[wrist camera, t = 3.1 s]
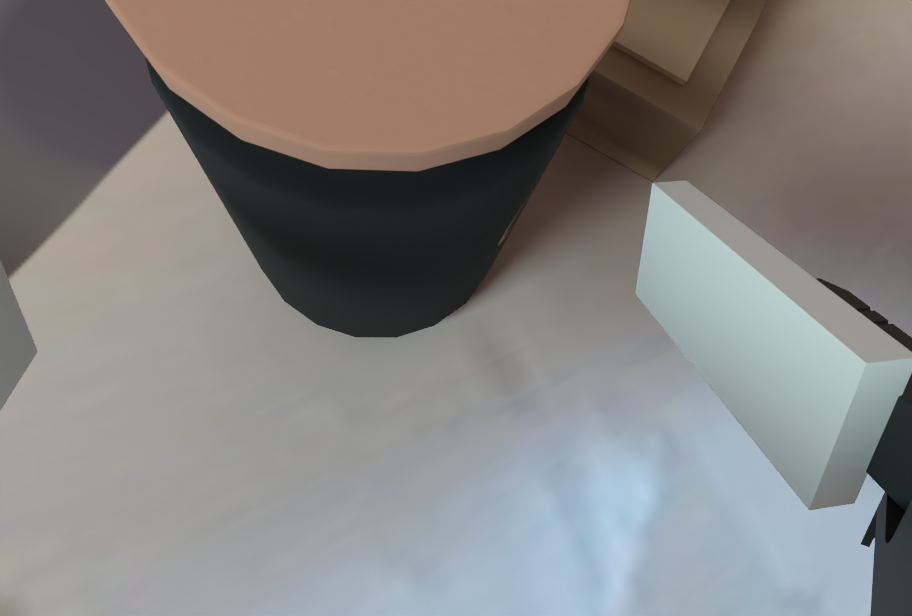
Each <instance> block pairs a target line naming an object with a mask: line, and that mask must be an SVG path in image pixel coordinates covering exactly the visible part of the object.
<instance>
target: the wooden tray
mask: <svg viewBox="0 0 912 616" xmlns="http://www.w3.org/2000/svg"><path fill="white" fill-rule="evenodd" d="M767 1H768V0H631V2H630V5H629V9H628V13H627V16H626V20H625V23H624V27H623V30H622V31H621V33H620V34H619V35H618V37H617V38H616V39H615V41H614V42H613V44H612V45H611V46H610V48H609V49H608V50H607V52H606V53H605V54H604V56H603V57H602V59H601V60H600V61H599V63H598V64H597V65H596V67H595V68H594V69H593V71H592V72H591V76H590V79H589V83H588V86H587V90H586V93H585V97H584V100H583V103H582V105H581V107H580V108H579V110H578V112H577V114H576V116H575V117H574V119H573V121H572V123H571V124H570V126H569V128H568V130H567V132H566V133H568V134H570V135H571V136H573V137H575V138H577V139H578V140H580V141H582V142H584V143H585V144H587V145H589V146H591V147H592V148H594V149H596V150H598V151H599V152H601V153H603V154H605V155H606V156H608V157H610V158H612V159H613V160H615V161H617V162H619V163H620V164H622V165H624V166H626V167H627V168H629V169H631V170H633V171H634V172H636V173H638V174H640V175H641V176H643V177H645V178H647V179H648V180H650V181H653V180H654V179H655V178H656V177H657V176H658V175H659V174H660V173H661V172H662V171H663V170H664V169H665V168H666V167H667V166H668V165H669V164H670V163H671V162H672V160H673V159H674V158H675V157H676V156H677V155H678V154H679V153H680V152H681V151H682V150H683V149H684V148H685V147H686V146H687V145H688V144H689V143H690V142H691V141H692V140H693V139H694V138H695V136H696V135H697V134H698V133H699V132H700V131H701V129H702V128H703V126H704V124H705V122H706V120H707V118H708V116H709V114H710V112H711V110H712V108H713V106H714V104H715V102H716V100H717V98H718V96H719V94H720V93H721V91H722V89H723V87H724V85H725V83H726V81H727V79H728V77H729V75H730V73H731V71H732V69H733V67H734V65H735V63H736V61H737V60H738V58H739V56H740V54H741V52H742V50H743V48H744V46H745V44H746V42H747V40H748V38H749V36H750V34H751V32H752V30H753V28H754V26H755V25H756V23H757V21H758V19H759V17H760V15H761V13H762V11H763V9H764V7H765V5H766V3H767Z"/></svg>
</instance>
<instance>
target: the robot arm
mask: <svg viewBox="0 0 912 616" xmlns="http://www.w3.org/2000/svg"><path fill="white" fill-rule="evenodd" d="M635 294H636V295H637V297H638V298H639V299H640V300H641V302H642V303H643V304H644V305H645V307H646V308H647V309H648V310H649V312H650V313H651V314H652V315H653V317H654V318H655V319H656V320H657V322H658V323H659V324H660V325H661V326H662V328H663V329H664V330H665V331H666V333H667V334H668V335H669V336H670V338H671V339H672V340H673V341H674V343H675V344H676V345H677V346H678V348H679V349H680V350H681V351H682V353H683V354H684V355H685V356H686V358H687V359H688V360H689V361H690V363H691V364H692V365H693V366H694V368H695V369H696V370H697V371H698V373H699V374H700V375H701V376H702V377H703V379H704V380H705V381H706V382H707V384H708V385H709V386H710V387H711V389H712V390H713V391H714V392H715V394H716V395H717V396H718V397H719V399H720V400H721V401H722V402H723V404H724V405H725V406H726V407H727V409H728V410H729V411H730V412H731V414H732V415H733V416H734V417H735V419H736V420H737V421H738V422H739V424H740V425H741V426H742V427H743V429H744V430H745V431H746V432H747V433H748V435H749V436H750V437H751V438H752V440H753V441H754V442H755V443H756V445H757V446H758V447H759V448H760V450H761V451H762V452H763V453H764V455H765V456H766V457H767V458H768V460H769V461H770V462H771V463H772V465H773V466H774V467H775V468H776V470H777V471H778V472H779V473H780V475H781V476H782V477H783V478H784V480H785V481H786V482H787V483H788V484H789V486H790V487H791V488H792V489H793V491H794V492H795V493H796V494H797V496H798V497H799V498H800V499H801V501H802V502H803V503H804V504H805V506H806V507H807V508H808V509H809V510H813V509H819V508H826V507H832V506H839V505H845V504H852V503H855V500H856V498H857V496H858V494H859V491H860V489H861V487H862V485H863V482H864V480H865V478H866V475H867V473H868V474H869V475H870V476H871V477H872V478H873V479H874V480H875V481H876V482H877V484H878V485H879V486H880V487H881V488H882V489H883V490H884V491H885V493H884V495H883V497H882V499H881V502H880V504H879V506H878V508H877V510H876V512H875V514H874V517H873V519H872V521H871V523H870V525H869V527H868V529H867V531H866V534H865V536H864V538H863V540H862V542H861V544H862V545H865V546H868V547H869V546H870V544H871V542H872V540H873V538H875V551H874V568H873V584H872V601H871V616H912V338H911V337H910V336H909V335H907V334H906V333H904V332H903V331H902V330H900V329H899V328H898V327H896V326H895V325H894V324H888V320H887V319H885V318H884V317H883V316H881V315H880V314H879V313H877V312H876V311H871V310H870V307H869V306H868V305H866V304H865V303H864V302H862V301H861V300H860V299H858V298H857V297H856V296H854V295H853V294H852V293H850V292H849V291H847V290H844V289H842V288H840V287H838V286H835V285H833V284H831V283H829V282H826V281H824V280H822V279H820V278H818V279H815V278H814V277H812V276H811V275H810V274H808V273H807V272H806V271H805V270H803V269H802V268H801V267H799V266H798V265H797V264H795V263H794V262H793V261H791V260H790V259H789V258H787V257H786V256H785V255H783V254H782V253H781V252H780V251H778V250H777V249H776V248H774V247H773V246H772V245H770V244H769V243H768V242H766V241H765V240H764V239H762V238H761V237H760V236H759V235H757V234H756V233H755V232H753V231H752V230H751V229H749V228H748V227H747V226H745V225H744V224H743V223H741V222H740V221H739V220H737V219H736V218H735V217H734V216H732V215H731V214H730V213H728V212H727V211H726V210H724V209H723V208H722V207H720V206H719V205H718V204H716V203H715V202H714V201H712V200H711V199H710V198H709V197H707V196H706V195H705V194H703V193H702V192H701V191H699V190H698V189H697V188H695V187H694V186H693V185H691V184H690V183H689V182H688V181H686V180H684V181H670V182H656V183H652V190H651V196H650V202H649V209H648V215H647V221H646V228H645V234H644V241H643V247H642V253H641V260H640V266H639V272H638V279H637V285H636V292H635ZM36 353H37V349H36V346H35V344H34V341H33V339H32V336H31V334H30V331H29V329H28V327H27V324H26V322H25V319H24V317H23V314H22V312H21V309H20V307H19V305H18V302H17V300H16V297H15V295H14V292H13V290H12V288H11V285H10V283H9V280H8V278H7V275H6V273H5V271H4V268H3V266H2V263H1V261H0V410H1V409H2V407H3V405H4V404H5V402H6V401H7V399H8V398H9V396H10V394H11V393H12V391H13V390H14V388H15V386H16V385H17V383H18V382H19V380H20V378H21V377H22V375H23V374H24V372H25V371H26V369H27V367H28V366H29V364H30V363H31V361H32V359H33V358H34V356H35V355H36Z"/></svg>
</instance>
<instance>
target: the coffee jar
mask: <svg viewBox="0 0 912 616" xmlns="http://www.w3.org/2000/svg"><path fill="white" fill-rule="evenodd" d="M105 1H106V3H107V4H108V5H109V7H110V8H111V10H112V11H113V12H114V14H115V15H116V16H117V18H118V19H119V21H120V22H121V23H122V25H123V26H124V27H125V29H126V30H127V31H128V33H129V34H130V36H131V37H132V38H133V40H134V41H135V43H136V44H137V45H138V47H139V48H140V49H141V51H142V52H143V53H144V55H145V59H146V62H147V66H148V70H149V74H150V77H151V81H152V84H153V85H154V87H155V88H156V90H157V92H158V94H159V95H160V97H161V99H162V100H163V102H164V103H165V106H166V107H167V109H168V111H169V112H170V114H171V116H172V117H173V119H174V121H175V123H176V124H177V126H178V128H179V129H180V131H181V133H182V134H183V136H184V138H185V140H186V141H187V143H188V145H189V146H190V148H191V150H192V151H193V153H194V155H195V157H196V158H197V160H198V162H199V163H200V165H201V167H202V168H203V170H204V172H205V174H206V175H207V177H208V179H209V180H210V182H211V184H212V185H213V187H214V189H215V190H216V192H217V194H218V196H219V197H220V199H221V201H222V202H223V204H224V206H225V207H226V209H227V211H228V213H229V214H230V216H231V218H232V219H233V221H234V223H235V224H236V226H237V228H238V230H239V231H240V233H241V235H242V236H243V238H244V240H245V241H246V243H247V245H248V247H249V248H250V250H251V252H252V253H253V255H254V257H255V258H256V260H257V262H258V264H259V265H260V267H261V269H262V270H263V272H264V273H265V274H266V276H267V277H268V279H269V280H270V281H271V283H272V284H273V286H274V287H275V288H276V290H277V291H278V293H279V294H280V295H281V297H282V298H283V299H284V301H285V302H286V303H288V304H289V305H291V306H292V307H293V308H295V309H296V310H298V311H299V312H300V313H302V314H303V315H305V316H306V317H307V318H309V319H310V320H311V321H313V322H314V323H316V324H317V325H320V326H323V327H326V328H329V329H332V330H335V331H338V332H342V333H345V334H348V335H351V336H354V337H399V336H402V335H405V334H408V333H412V332H415V331H418V330H421V329H424V328H428V327H431V326H434V325H435V324H437V323H438V322H440V321H441V320H442V319H444V318H445V317H447V316H448V315H450V314H451V313H452V312H454V311H455V310H457V309H458V308H459V307H461V306H462V305H464V304H465V303H466V302H467V300H468V299H469V298H470V296H471V295H472V293H473V292H474V291H475V289H476V288H477V287H478V285H479V284H480V282H481V281H482V280H483V278H484V277H485V276H486V274H487V273H488V271H489V269H490V267H491V266H492V264H493V262H494V260H495V258H496V257H497V255H498V253H499V251H500V250H501V248H502V246H503V244H504V242H505V241H506V239H507V237H508V235H509V233H510V232H511V230H512V228H513V226H514V224H515V223H516V221H517V219H518V217H519V216H520V214H521V212H522V210H523V208H524V207H525V205H526V203H527V201H528V199H529V198H530V196H531V194H532V192H533V191H534V189H535V187H536V185H537V183H538V182H539V180H540V178H541V176H542V174H543V173H544V171H545V169H546V167H547V166H548V164H549V162H550V160H551V158H552V157H553V155H554V153H555V151H556V149H557V148H558V146H559V144H560V142H561V141H562V139H563V137H564V135H565V133H566V132H567V130H568V128H569V126H570V124H571V123H572V121H573V119H574V117H575V116H576V114H577V112H578V110H579V108H580V107H581V105H582V103H583V100H584V97H585V93H586V90H587V86H588V83H589V79H590V76H591V72H592V71H593V69H594V68H595V67H596V65H597V64H598V63H599V61H600V60H601V59H602V57H603V56H604V54H605V53H606V52H607V50H608V49H609V48H610V46H611V45H612V44H613V42H614V41H615V39H616V38H617V37H618V35H619V34H620V33H621V31H622V30H623V27H624V23H625V20H626V16H627V13H628V9H629V5H630V2H631V0H105Z"/></svg>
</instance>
